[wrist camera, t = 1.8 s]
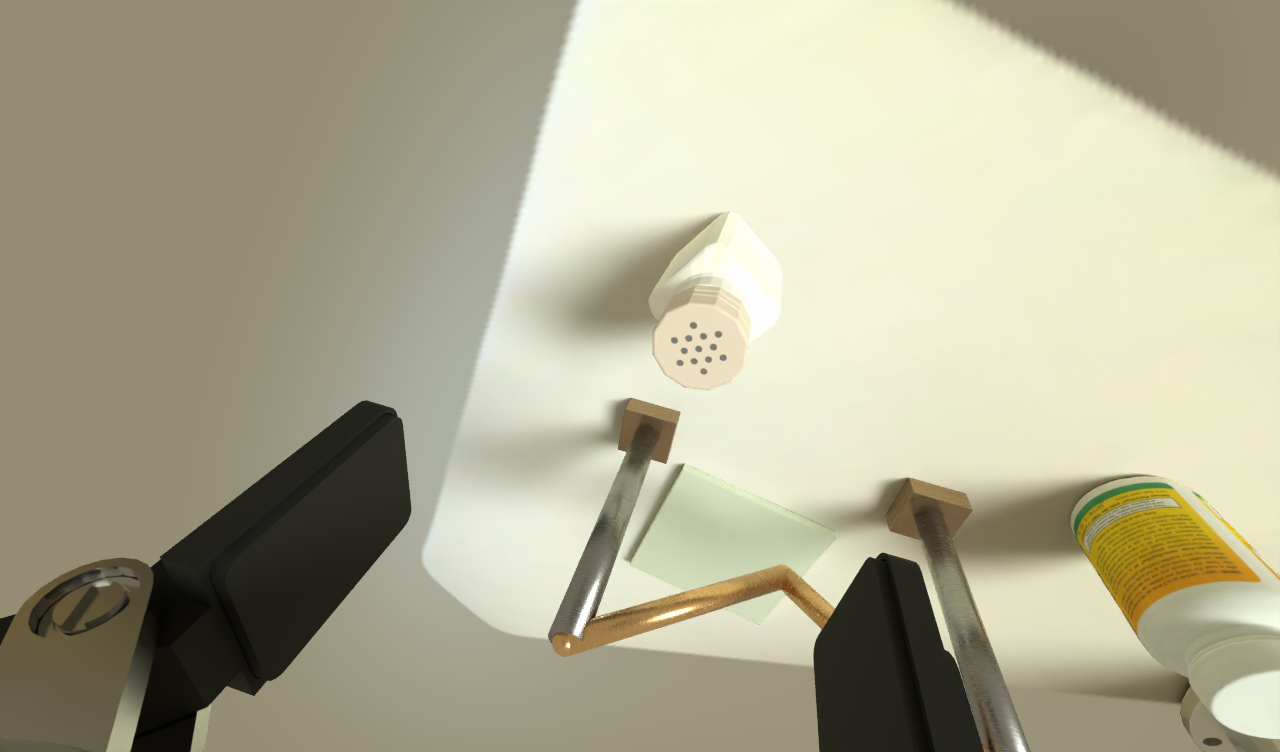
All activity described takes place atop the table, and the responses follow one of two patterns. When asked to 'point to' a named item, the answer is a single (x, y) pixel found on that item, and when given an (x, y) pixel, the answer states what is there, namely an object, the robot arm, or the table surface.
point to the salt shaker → (714, 304)
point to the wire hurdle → (781, 578)
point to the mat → (726, 539)
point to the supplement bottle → (1190, 593)
